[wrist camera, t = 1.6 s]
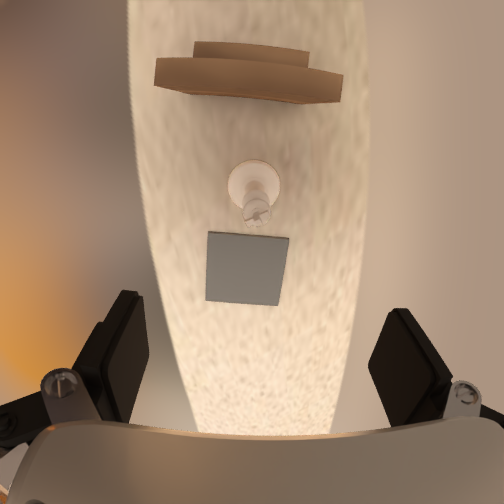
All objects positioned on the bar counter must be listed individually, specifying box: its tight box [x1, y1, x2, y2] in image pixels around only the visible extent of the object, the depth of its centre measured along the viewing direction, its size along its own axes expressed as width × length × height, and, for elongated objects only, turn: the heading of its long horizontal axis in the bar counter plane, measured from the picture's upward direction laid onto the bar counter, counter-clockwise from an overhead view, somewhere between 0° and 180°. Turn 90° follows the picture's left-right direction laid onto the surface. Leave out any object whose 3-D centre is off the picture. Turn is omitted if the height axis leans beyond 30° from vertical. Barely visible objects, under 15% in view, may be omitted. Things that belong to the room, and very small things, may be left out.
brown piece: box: [154, 42, 343, 104], centre depth 19 cm, size 5×10×12 cm, turn 84°
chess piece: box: [228, 160, 280, 228], centre depth 25 cm, size 5×5×10 cm
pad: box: [206, 231, 289, 306], centre depth 33 cm, size 8×8×1 cm
